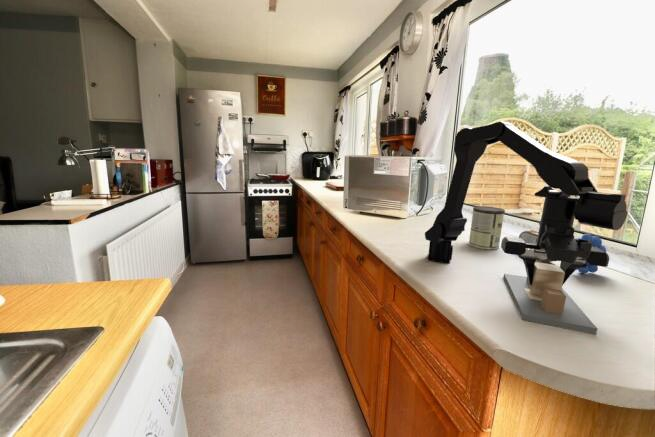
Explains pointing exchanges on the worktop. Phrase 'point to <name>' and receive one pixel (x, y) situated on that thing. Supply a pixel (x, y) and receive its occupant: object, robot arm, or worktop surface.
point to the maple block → (546, 278)
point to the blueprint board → (547, 317)
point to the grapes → (595, 243)
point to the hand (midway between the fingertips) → (543, 286)
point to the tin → (531, 238)
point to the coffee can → (486, 227)
